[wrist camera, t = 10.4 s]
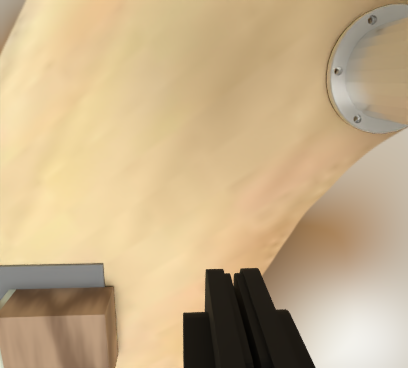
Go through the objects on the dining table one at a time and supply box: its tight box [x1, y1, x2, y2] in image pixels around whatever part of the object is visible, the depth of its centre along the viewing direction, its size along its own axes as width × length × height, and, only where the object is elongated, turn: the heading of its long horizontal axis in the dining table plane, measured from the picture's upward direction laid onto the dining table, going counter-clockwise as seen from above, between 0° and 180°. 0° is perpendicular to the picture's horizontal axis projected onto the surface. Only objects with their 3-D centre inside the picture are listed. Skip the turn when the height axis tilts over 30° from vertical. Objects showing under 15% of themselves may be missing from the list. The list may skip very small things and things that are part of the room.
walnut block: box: [0, 287, 118, 368], centre depth 39 cm, size 5×10×12 cm
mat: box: [0, 264, 105, 300], centre depth 41 cm, size 15×16×2 cm
